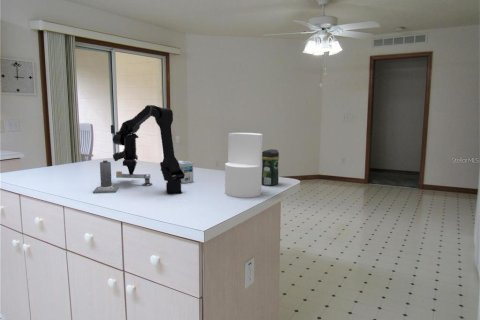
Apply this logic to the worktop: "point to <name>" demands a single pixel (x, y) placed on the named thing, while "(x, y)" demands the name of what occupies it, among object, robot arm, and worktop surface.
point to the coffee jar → (270, 167)
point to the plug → (105, 175)
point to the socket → (106, 190)
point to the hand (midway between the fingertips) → (131, 176)
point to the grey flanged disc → (147, 182)
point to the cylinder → (244, 165)
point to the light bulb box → (186, 171)
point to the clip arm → (132, 175)
